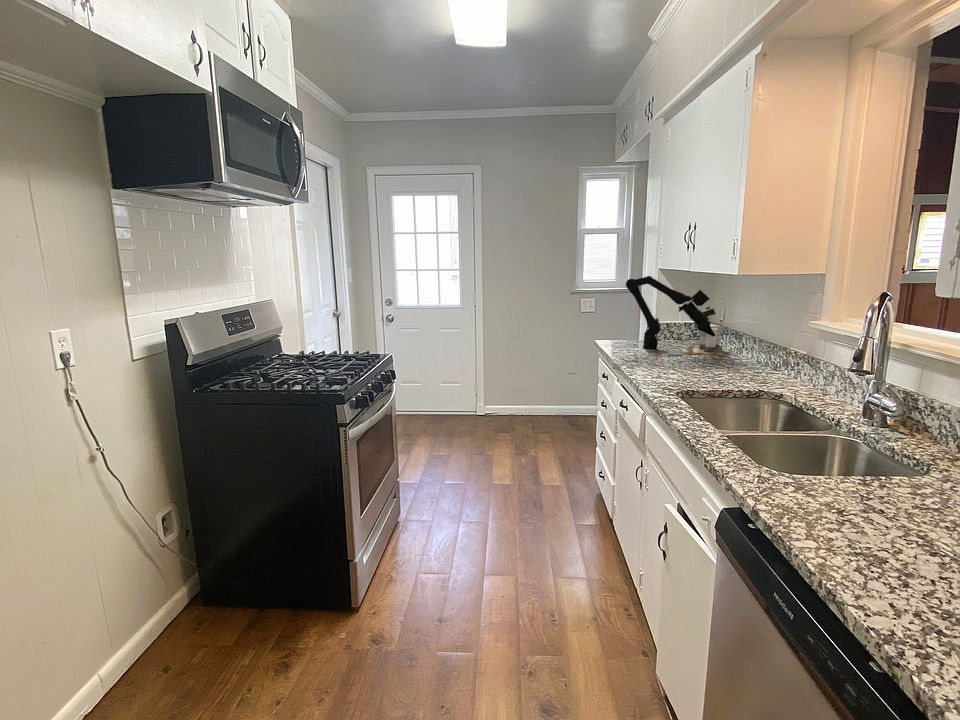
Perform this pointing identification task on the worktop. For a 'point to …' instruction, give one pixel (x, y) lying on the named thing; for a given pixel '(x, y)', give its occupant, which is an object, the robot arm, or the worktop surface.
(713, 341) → the block
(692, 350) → the dock station
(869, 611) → the worktop surface
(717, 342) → the supplement box
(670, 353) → the phone
